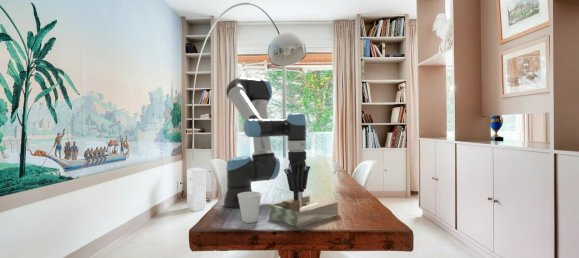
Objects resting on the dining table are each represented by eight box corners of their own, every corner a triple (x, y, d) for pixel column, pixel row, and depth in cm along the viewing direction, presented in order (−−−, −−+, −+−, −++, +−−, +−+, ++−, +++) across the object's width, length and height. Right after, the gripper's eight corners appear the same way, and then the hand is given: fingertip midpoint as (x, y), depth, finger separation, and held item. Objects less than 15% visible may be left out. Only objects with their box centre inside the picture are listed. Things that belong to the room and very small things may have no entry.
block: (282, 212, 130) (282, 200, 129) (291, 210, 133) (291, 198, 133) (290, 215, 126) (290, 202, 126) (299, 212, 129) (299, 200, 129)
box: (269, 217, 133) (269, 204, 133) (308, 207, 149) (308, 195, 149) (298, 227, 120) (298, 213, 120) (337, 214, 136) (337, 202, 136)
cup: (258, 225, 123) (257, 197, 123) (233, 224, 125) (233, 196, 125) (265, 218, 133) (264, 191, 133) (242, 216, 135) (242, 191, 135)
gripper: (291, 152, 125) (293, 212, 125) (314, 150, 133) (315, 206, 134) (279, 151, 130) (280, 208, 131) (301, 149, 139) (303, 202, 139)
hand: (298, 207), depth 132 cm, fingers closed
